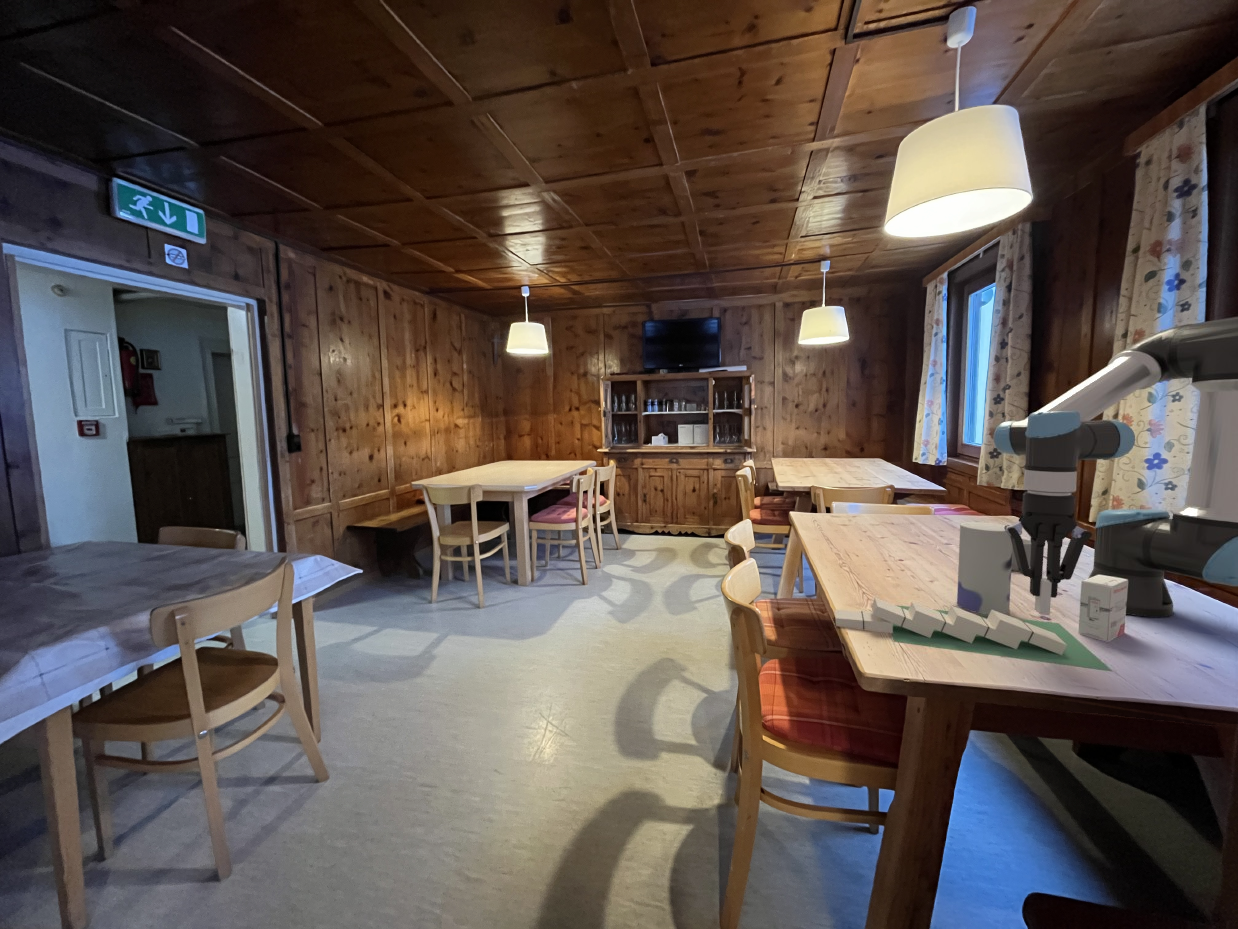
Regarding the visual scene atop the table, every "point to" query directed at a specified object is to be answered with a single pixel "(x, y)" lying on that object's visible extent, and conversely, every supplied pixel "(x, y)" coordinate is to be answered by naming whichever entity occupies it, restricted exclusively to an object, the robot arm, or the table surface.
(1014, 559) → the cup
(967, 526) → the container
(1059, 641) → the domino
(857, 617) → the domino
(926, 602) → the table surface
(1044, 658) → the felt mat
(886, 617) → the domino
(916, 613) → the domino
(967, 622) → the domino
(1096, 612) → the ink box
